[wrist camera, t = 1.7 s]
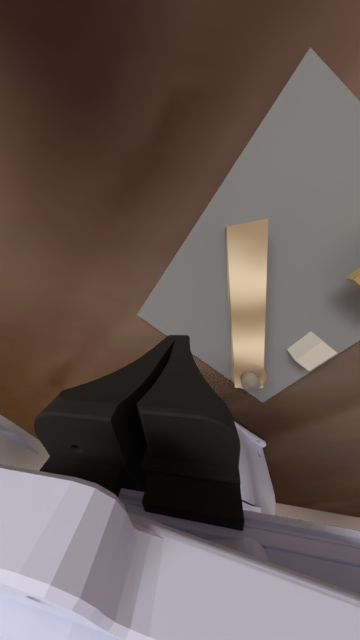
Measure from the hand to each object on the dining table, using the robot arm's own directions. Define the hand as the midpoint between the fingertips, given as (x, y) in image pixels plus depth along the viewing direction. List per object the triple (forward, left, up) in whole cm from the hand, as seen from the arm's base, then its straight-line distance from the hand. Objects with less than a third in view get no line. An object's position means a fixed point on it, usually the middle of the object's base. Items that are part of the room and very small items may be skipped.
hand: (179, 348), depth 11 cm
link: (-5, -3, -8) cm, 10 cm away
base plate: (-6, -7, -9) cm, 13 cm away
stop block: (-12, -4, -9) cm, 16 cm away
